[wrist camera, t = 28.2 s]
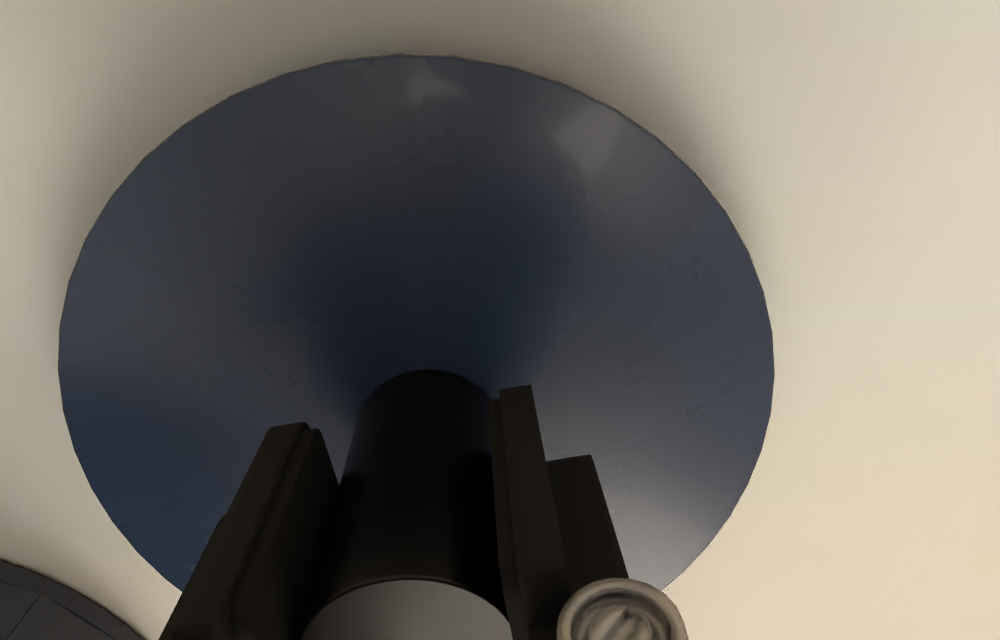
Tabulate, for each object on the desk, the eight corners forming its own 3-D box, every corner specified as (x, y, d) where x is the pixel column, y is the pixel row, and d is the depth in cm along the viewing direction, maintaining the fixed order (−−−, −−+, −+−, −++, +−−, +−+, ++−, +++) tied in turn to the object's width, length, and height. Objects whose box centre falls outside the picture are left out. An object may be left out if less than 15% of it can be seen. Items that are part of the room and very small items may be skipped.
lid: (469, -146, 10) (477, -407, 4) (859, 425, 14) (1117, 678, 9) (-53, 370, 13) (-473, 641, 7) (411, 702, 17) (387, 1024, 12)
